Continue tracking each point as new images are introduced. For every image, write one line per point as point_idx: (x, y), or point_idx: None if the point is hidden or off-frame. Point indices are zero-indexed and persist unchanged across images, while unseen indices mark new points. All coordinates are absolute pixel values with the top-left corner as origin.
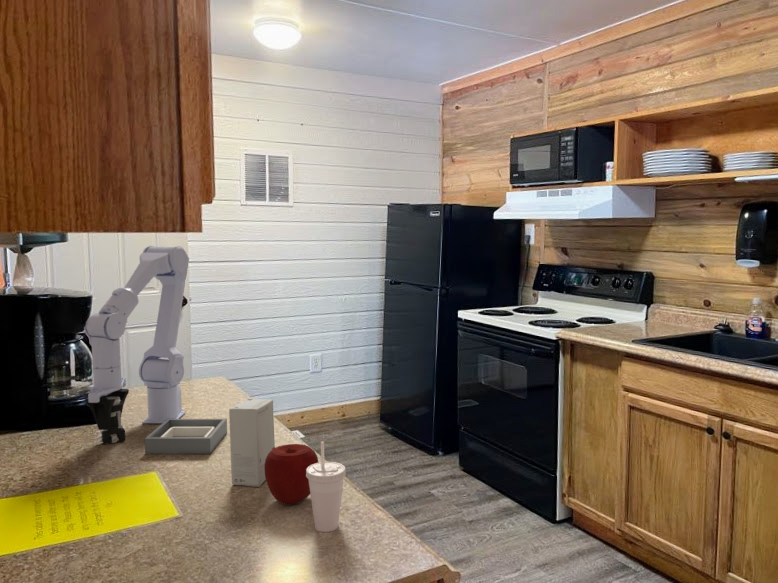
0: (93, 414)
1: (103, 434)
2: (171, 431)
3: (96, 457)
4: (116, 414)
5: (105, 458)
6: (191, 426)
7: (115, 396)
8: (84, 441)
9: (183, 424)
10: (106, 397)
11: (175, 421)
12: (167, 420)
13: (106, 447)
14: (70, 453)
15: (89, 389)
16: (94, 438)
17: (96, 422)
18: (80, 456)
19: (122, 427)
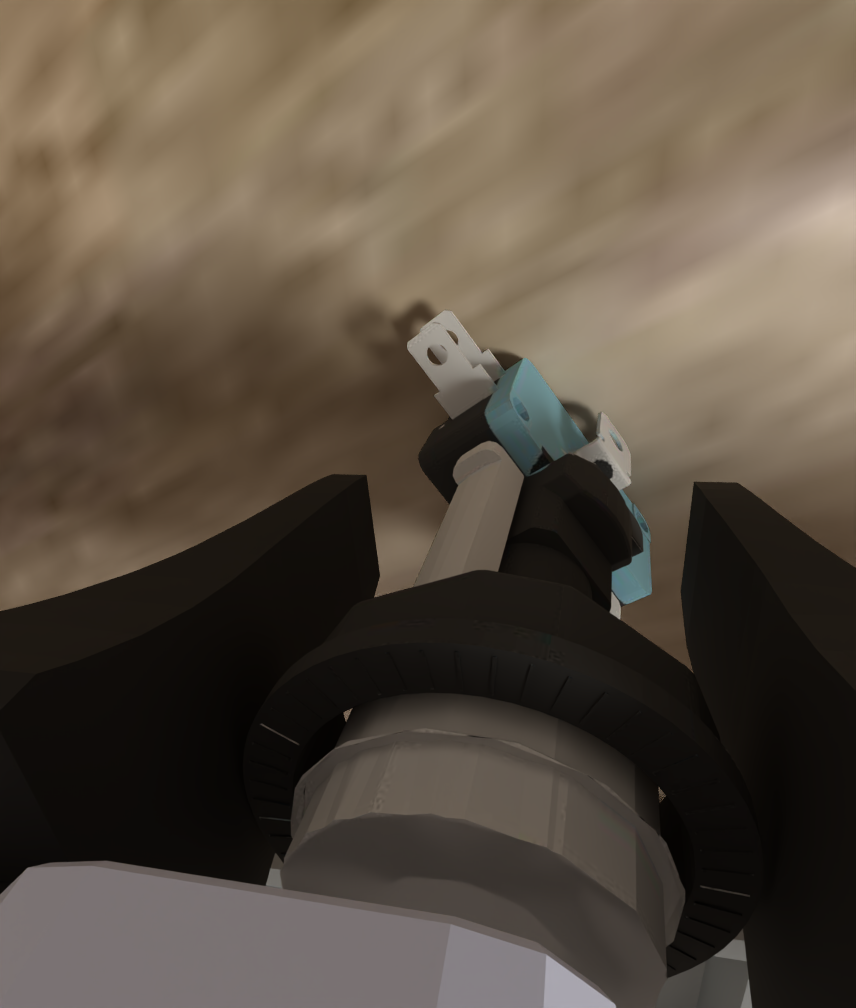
0: (160, 563)
1: (423, 459)
2: None
3: (154, 479)
4: (702, 636)
5: (155, 551)
6: (716, 999)
7: (653, 999)
8: (573, 97)
9: (726, 983)
10: (563, 863)
11: (740, 975)
12: (733, 950)
13: (385, 461)
14: (173, 176)
15: (24, 892)
16: (420, 337)
17: (271, 508)
18: (135, 332)
19: (631, 599)
